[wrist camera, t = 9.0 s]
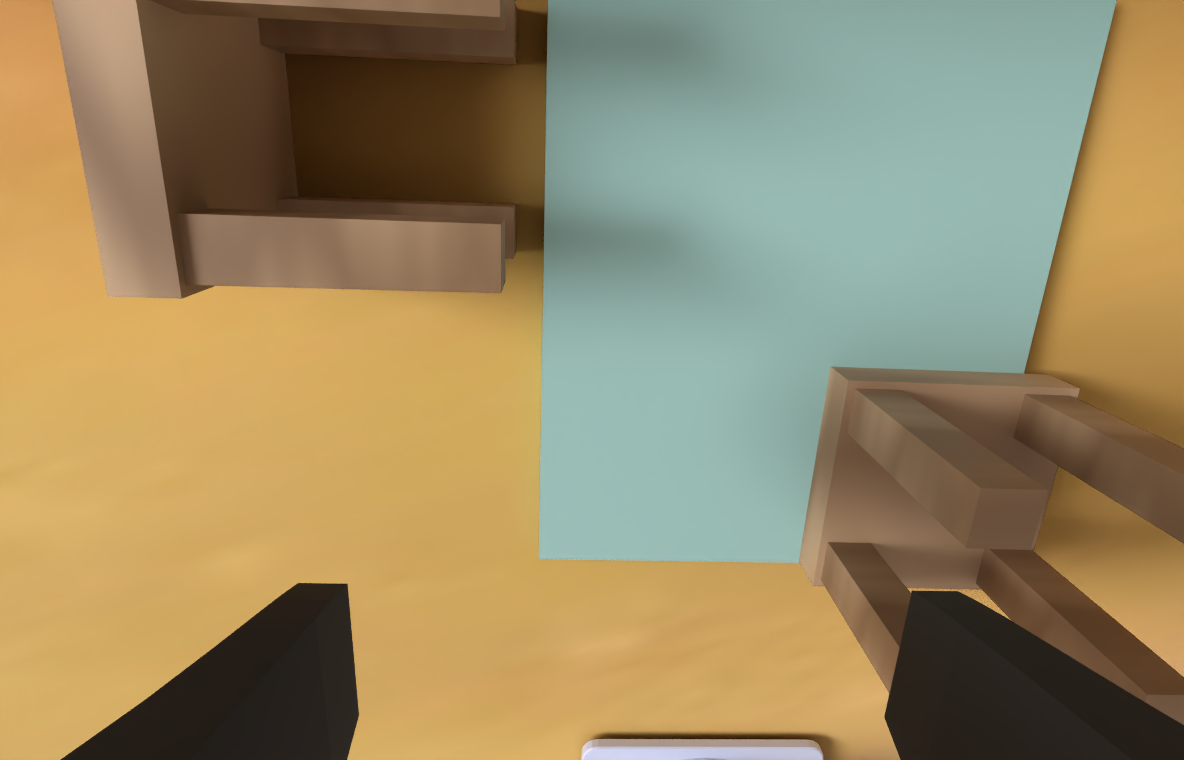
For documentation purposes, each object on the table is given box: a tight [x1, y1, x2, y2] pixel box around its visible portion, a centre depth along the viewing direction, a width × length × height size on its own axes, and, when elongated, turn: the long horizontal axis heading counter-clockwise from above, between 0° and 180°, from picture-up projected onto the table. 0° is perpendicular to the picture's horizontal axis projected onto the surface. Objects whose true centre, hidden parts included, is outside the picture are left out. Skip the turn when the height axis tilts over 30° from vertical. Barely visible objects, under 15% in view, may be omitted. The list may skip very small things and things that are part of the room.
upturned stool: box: [799, 367, 1184, 725], centre depth 16 cm, size 6×6×7 cm
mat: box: [539, 0, 1117, 563], centre depth 18 cm, size 15×13×1 cm
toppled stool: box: [52, 0, 516, 299], centre depth 13 cm, size 6×6×7 cm
